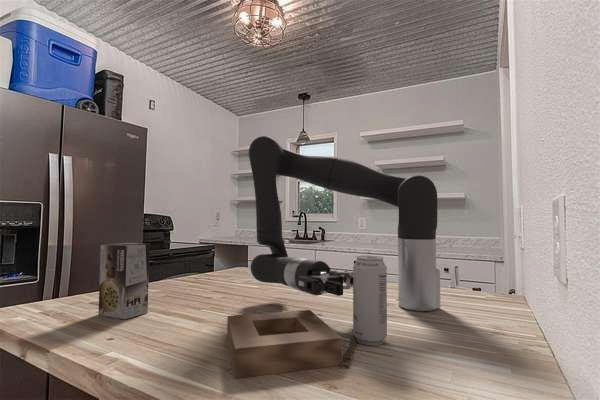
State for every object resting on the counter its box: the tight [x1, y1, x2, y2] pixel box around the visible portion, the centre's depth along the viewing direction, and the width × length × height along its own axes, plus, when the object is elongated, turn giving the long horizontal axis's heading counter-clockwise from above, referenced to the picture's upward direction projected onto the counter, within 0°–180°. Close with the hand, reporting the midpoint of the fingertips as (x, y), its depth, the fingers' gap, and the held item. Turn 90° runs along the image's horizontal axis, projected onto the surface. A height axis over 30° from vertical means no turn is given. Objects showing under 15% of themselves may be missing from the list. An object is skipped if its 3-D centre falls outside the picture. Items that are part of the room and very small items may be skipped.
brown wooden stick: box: [339, 336, 358, 370], centre depth 54 cm, size 13×1×1 cm, turn 164°
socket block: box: [226, 309, 343, 379], centre depth 55 cm, size 16×16×4 cm
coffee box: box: [98, 242, 151, 320], centre depth 76 cm, size 9×6×16 cm
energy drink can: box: [352, 255, 388, 346], centre depth 60 cm, size 6×6×15 cm
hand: (358, 287), depth 62 cm, fingers open, 8 cm apart
